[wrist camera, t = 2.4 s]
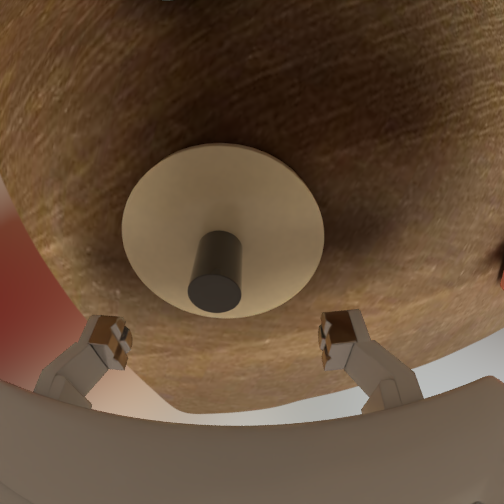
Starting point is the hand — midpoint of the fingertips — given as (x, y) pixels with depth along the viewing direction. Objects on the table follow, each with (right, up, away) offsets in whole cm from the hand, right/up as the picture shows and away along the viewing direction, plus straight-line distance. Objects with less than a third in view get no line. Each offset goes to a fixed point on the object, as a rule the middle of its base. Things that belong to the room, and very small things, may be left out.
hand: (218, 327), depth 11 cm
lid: (0, +3, +5) cm, 6 cm away
